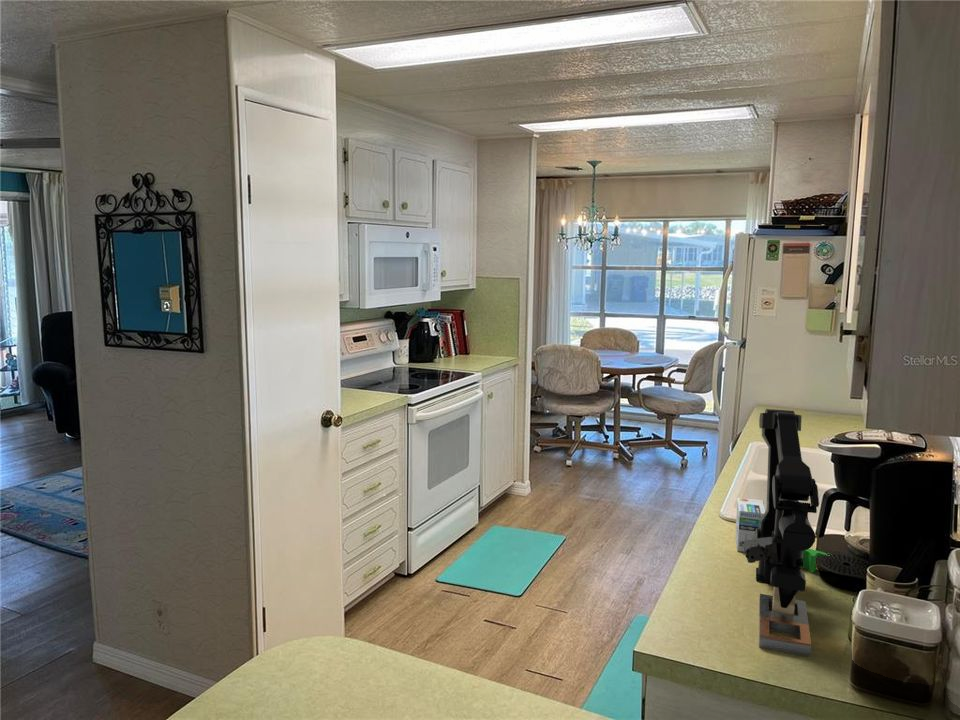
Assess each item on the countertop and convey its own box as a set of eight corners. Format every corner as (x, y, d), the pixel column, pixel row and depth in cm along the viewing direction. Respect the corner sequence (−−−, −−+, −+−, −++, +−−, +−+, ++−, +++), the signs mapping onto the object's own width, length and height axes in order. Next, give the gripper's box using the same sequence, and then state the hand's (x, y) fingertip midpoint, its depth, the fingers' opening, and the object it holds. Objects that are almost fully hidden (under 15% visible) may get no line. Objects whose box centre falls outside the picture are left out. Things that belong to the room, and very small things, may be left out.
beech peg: (771, 609, 153) (774, 574, 152) (792, 613, 152) (795, 577, 150) (772, 618, 149) (775, 582, 148) (793, 622, 148) (796, 586, 147)
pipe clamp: (777, 564, 176) (778, 546, 175) (782, 559, 179) (783, 541, 178) (826, 578, 169) (827, 559, 168) (830, 572, 171) (832, 554, 171)
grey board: (759, 602, 156) (759, 592, 156) (804, 610, 153) (805, 600, 153) (759, 647, 139) (759, 636, 138) (810, 657, 136) (811, 646, 135)
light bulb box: (764, 555, 180) (768, 514, 179) (736, 551, 182) (739, 511, 180) (761, 538, 190) (764, 499, 189) (734, 535, 192) (736, 496, 191)
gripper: (748, 510, 159) (743, 576, 162) (746, 542, 142) (741, 616, 144) (803, 517, 155) (797, 585, 158) (808, 551, 138) (802, 627, 140)
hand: (783, 602), depth 150 cm, fingers closed on beech peg, 4 cm apart
